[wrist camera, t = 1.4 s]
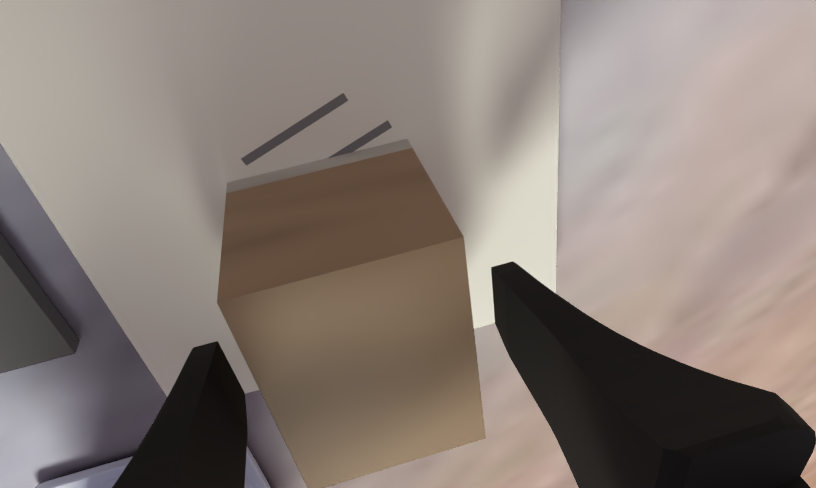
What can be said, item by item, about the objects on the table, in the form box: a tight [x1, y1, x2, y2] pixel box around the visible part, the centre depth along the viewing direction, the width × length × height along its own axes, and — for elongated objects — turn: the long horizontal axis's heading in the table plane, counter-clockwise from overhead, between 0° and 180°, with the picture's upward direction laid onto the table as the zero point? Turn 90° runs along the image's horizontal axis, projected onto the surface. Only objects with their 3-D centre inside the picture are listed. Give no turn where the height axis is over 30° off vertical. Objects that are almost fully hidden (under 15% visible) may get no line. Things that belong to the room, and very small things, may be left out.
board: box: [0, 0, 561, 397], centre depth 15 cm, size 18×14×2 cm
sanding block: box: [217, 139, 485, 488], centre depth 15 cm, size 7×5×5 cm
